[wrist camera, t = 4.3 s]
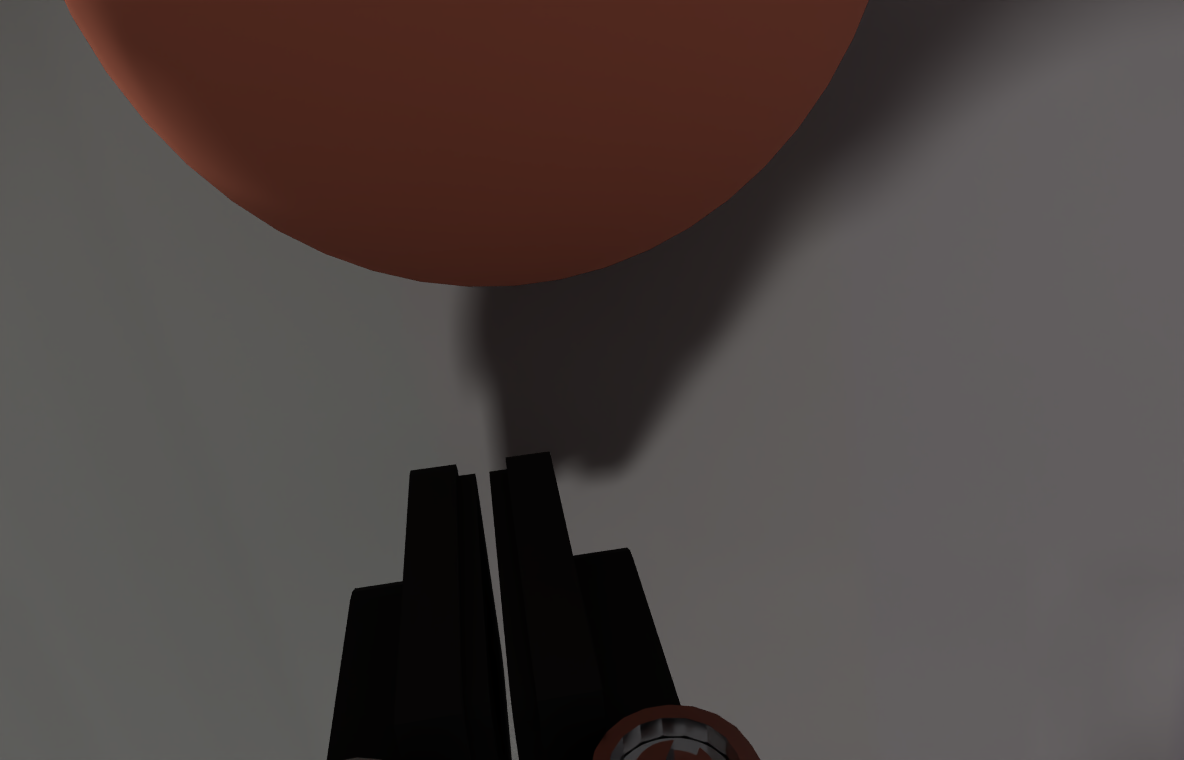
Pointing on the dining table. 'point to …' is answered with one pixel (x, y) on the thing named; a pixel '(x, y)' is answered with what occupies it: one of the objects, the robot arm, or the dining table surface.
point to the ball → (474, 117)
